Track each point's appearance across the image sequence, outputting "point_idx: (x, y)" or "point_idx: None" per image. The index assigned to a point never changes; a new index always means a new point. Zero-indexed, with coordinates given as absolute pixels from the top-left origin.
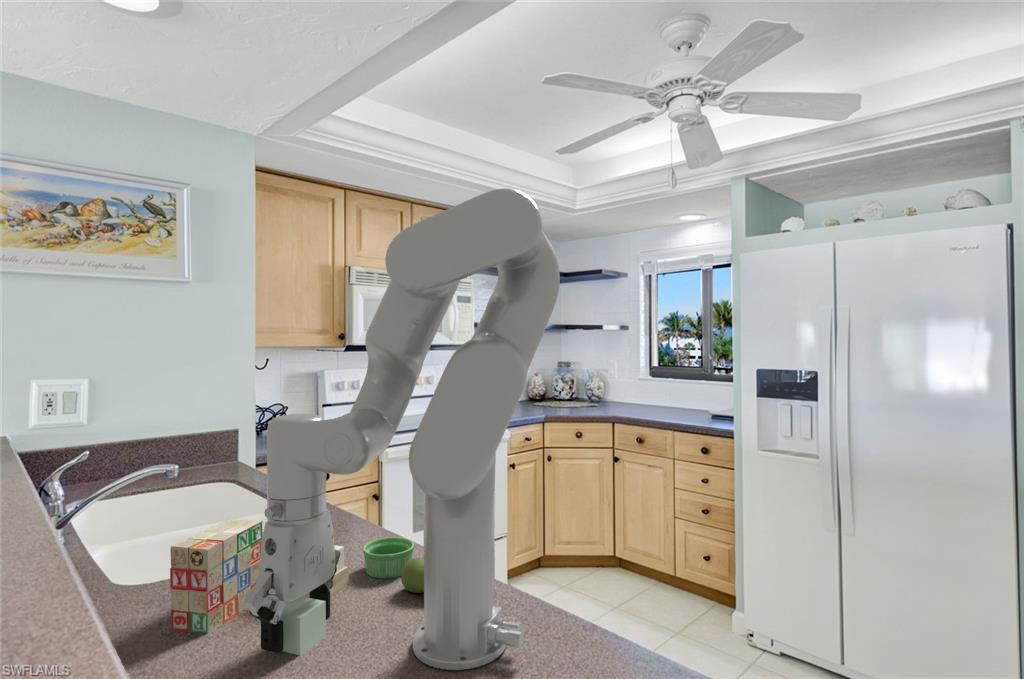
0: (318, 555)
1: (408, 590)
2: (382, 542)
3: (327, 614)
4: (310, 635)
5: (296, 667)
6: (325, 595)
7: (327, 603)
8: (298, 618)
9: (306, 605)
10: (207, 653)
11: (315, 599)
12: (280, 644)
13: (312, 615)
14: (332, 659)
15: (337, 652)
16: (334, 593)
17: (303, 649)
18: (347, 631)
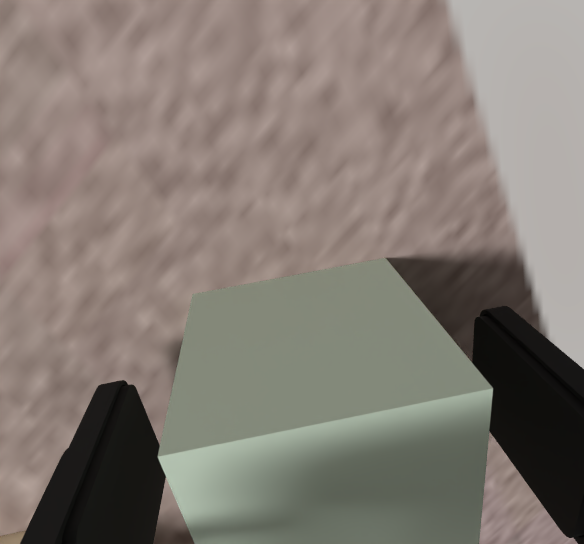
0: None
1: None
2: None
3: (115, 399)
4: (324, 304)
5: (474, 187)
6: (82, 528)
7: (91, 459)
8: (486, 396)
9: (306, 500)
10: (495, 515)
11: (191, 526)
12: (528, 327)
13: (327, 384)
14: (341, 66)
15: (271, 101)
16: None
17: (370, 269)
18: (76, 236)
